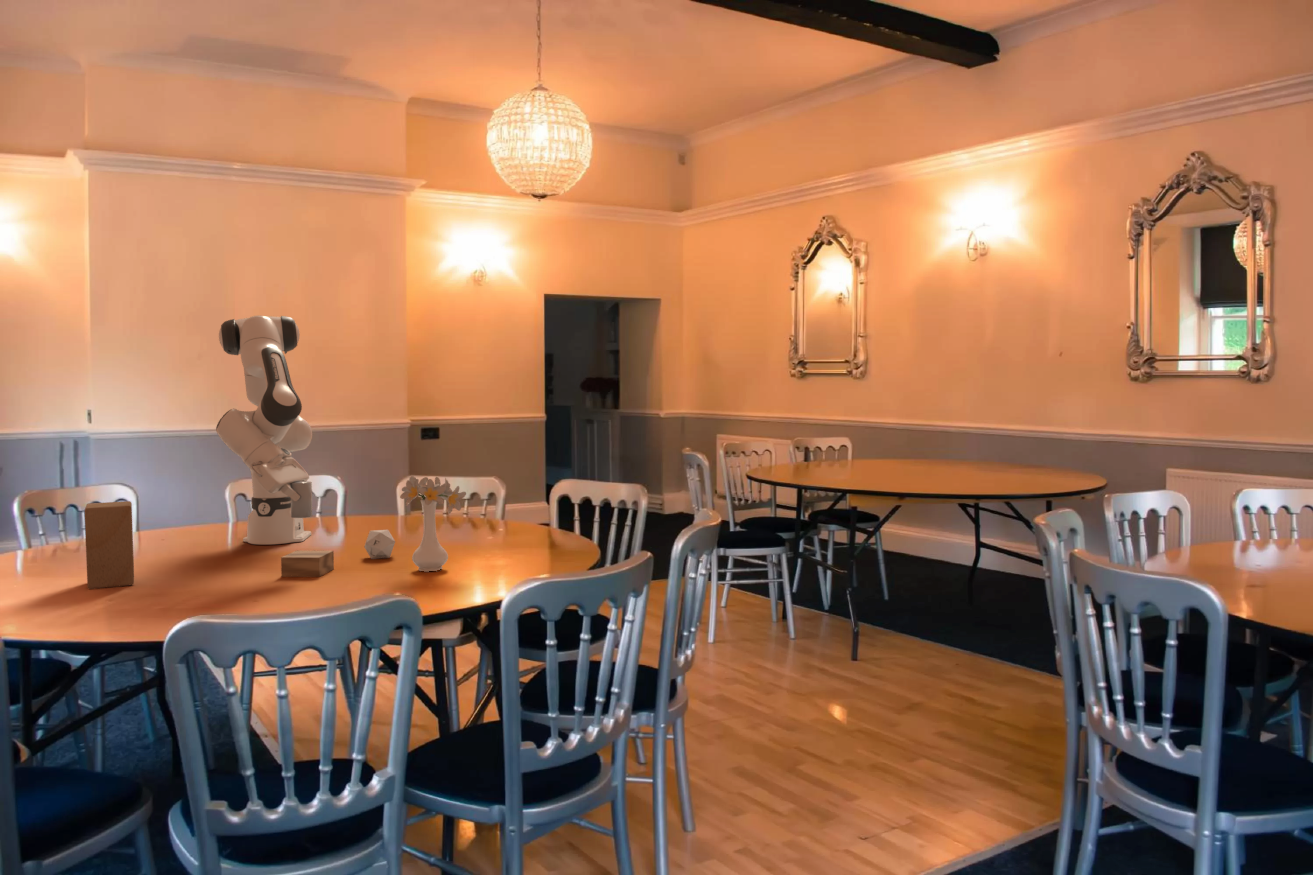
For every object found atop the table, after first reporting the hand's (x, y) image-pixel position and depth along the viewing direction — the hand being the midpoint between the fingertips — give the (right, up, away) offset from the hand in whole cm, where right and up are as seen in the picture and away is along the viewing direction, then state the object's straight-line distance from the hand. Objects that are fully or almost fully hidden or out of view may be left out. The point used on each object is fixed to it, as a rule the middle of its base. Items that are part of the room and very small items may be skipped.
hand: (303, 497), depth 258 cm
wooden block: (-44, -21, -12) cm, 50 cm away
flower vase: (+33, -20, +5) cm, 39 cm away
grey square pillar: (-1, -5, 0) cm, 5 cm away
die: (+14, -19, +23) cm, 32 cm away
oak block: (+1, -20, +1) cm, 20 cm away
